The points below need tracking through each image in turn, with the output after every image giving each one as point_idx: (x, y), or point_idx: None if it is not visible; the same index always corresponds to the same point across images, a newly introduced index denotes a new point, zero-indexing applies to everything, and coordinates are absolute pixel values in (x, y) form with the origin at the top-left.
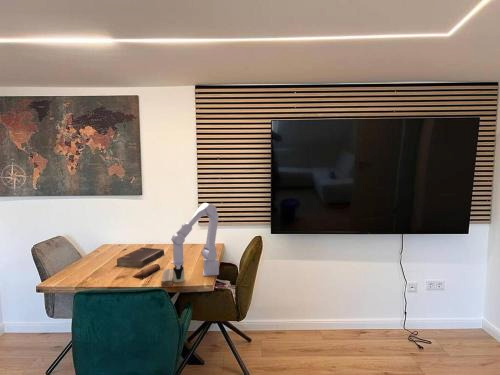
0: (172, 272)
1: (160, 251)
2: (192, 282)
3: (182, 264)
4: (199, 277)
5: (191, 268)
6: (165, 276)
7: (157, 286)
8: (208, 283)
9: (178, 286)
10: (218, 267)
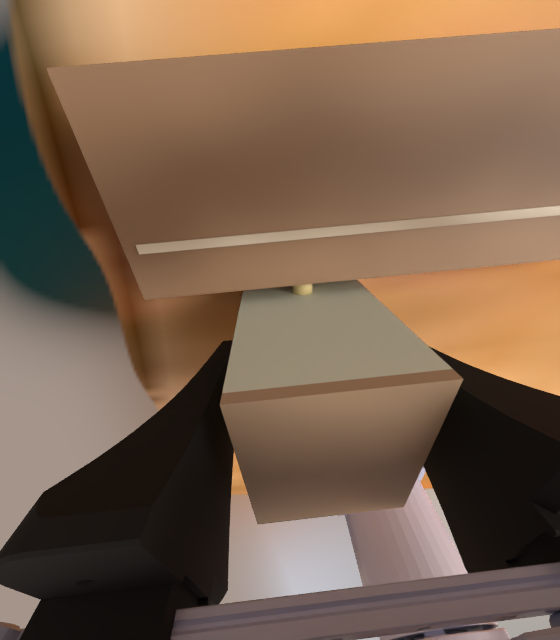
0: (491, 257)
1: None
2: None
3: (457, 537)
4: None
5: (555, 389)
6: (342, 143)
7: (56, 9)
8: None
9: (131, 343)
10: (358, 567)
